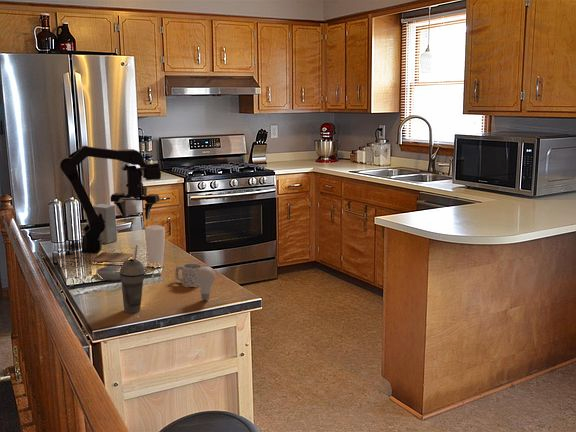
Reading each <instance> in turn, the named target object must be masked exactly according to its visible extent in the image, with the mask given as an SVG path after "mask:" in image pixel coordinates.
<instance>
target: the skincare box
mask: <svg viewBox="0 0 576 432" xmlns="http://www.w3.org/2000/svg"><path fill="white" fill-rule="evenodd" d="M92 206H93V208H94V210H95V211H96V212H98V211H100V212H101V214H102V217H103V219H104V221H105V222H106V223H104V224H105V229H104V231H103V232H102V233H101V234H100V239H101V240H102V244H111V243H114V242H117V241H118V237H117V236H118V233H117V218H116V204H113V205H112V204H106V203H105V204H104V203H99V204H95V205H92Z"/></svg>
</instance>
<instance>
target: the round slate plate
mask: <svg viewBox="0 0 576 432" xmlns="http://www.w3.org/2000/svg"><path fill="white" fill-rule="evenodd" d="M120 267H121V266H120V265H107V266H104V267H100V268H98V269H97V270H96V274H97V273H98V274H99V275H100V276H101V277H102V278H103V279H102V280H103V281H113V282H114V281H115V282H117V281H121V278H120V272H114V273H113V271H117V269H119V268H120Z"/></svg>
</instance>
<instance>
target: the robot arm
mask: <svg viewBox="0 0 576 432" xmlns="http://www.w3.org/2000/svg"><path fill="white" fill-rule="evenodd" d="M88 157H90V158H98V159H108V160H113V161H114V160H115V161H116V160H117V161H120V162H123V163H124V165H123V166H122V167H121V170H122V171H123V172H126V184H125V187H126V188H127V193H126V194H125V193H124V192H114V193H112V194H111V195H110V202H111V203H112V202H113V205H115V206H116V207H117V208H118V210H119V211H120V213H121V215H122V217H123V219H126V218H127V209H126V202H127V201H145V202H146V203H145V204H144V211H145V212H144V214H145V215H144V216H145V220H148V219H149V216H150V213H151V210H152V207H153V205H155V204H157V203H158V202H160V196H159V194H158V193H157V194H156V193H149V194H148V188H147V187H146V186H144V184H143V182H142V180H143V179H144V180H145V181H159V180H161V178H162V171H161V168H160V164H159V163H158V162H155V163H154V162H153V163H146V162H145V161H144V160H143V155H142V153H141V152H140V151H139V150H136V149H132V148H131V149H127V148H126V149H110V148H102V147H94V146H88V145H81V147H79V148H78V149H77V150H75V151H73V152H72V153H70V154H69V155H68V156H66V155H65V156H63V157H61V158H59V160H58V167H59V168H60V170H61V171H62V173H63V174H64V175H65V177H66V178H67V180H69V183H70V185H71V187H72V189H73V191H74V193H75V195H76V197H77V199H78V201H79V203H80V205H81V207H82V209H83V211H84V214H85V219H86V222H87V223H86V225H85V226H84V227H83V228H82V233H83V235H82V237H81V240H82V241H81V243H82V250H81V251H80V253H84V254H85V253H86V254H99V252H100V251H102V250H103V249H102V248H103V247H102V245H103V243H102V240H101V239H100V234H101V233H102V232H103V231H104V229H105V224H104V223H106V222H105V221H104V219H103V217H102V214H101V212H100V211H98V212H96V211H95V210H94V208H93V206H94V205H93V203H92V201H91V199H90V198H89V196H88V193H87V191H86V189H85V188H84V185H83V184H82V181H81V178H80V175H79V170H78V167H77V166H78V165H80V164H81V163H82V162H83V161H84V160H85V159H87V158H88ZM128 164H129V165H128ZM137 166H138V167H137ZM142 178H143V179H142Z"/></svg>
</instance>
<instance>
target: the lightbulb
mask: <svg viewBox="0 0 576 432" xmlns="http://www.w3.org/2000/svg"><path fill="white" fill-rule="evenodd" d="M216 278H217V276H216V272H215V271H214V268H212V267H211V266H202V268H200V269H199V270H198V271H197V273H196V279H197V282H198V284H199V286H200V287H199V289H200V295H201V297H200V298H201V300H203V301H204V300H206V301H207V300H209V299H210V293H211V292H212V291H211V289H212V286H213V284H214V283H215V281H216Z"/></svg>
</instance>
